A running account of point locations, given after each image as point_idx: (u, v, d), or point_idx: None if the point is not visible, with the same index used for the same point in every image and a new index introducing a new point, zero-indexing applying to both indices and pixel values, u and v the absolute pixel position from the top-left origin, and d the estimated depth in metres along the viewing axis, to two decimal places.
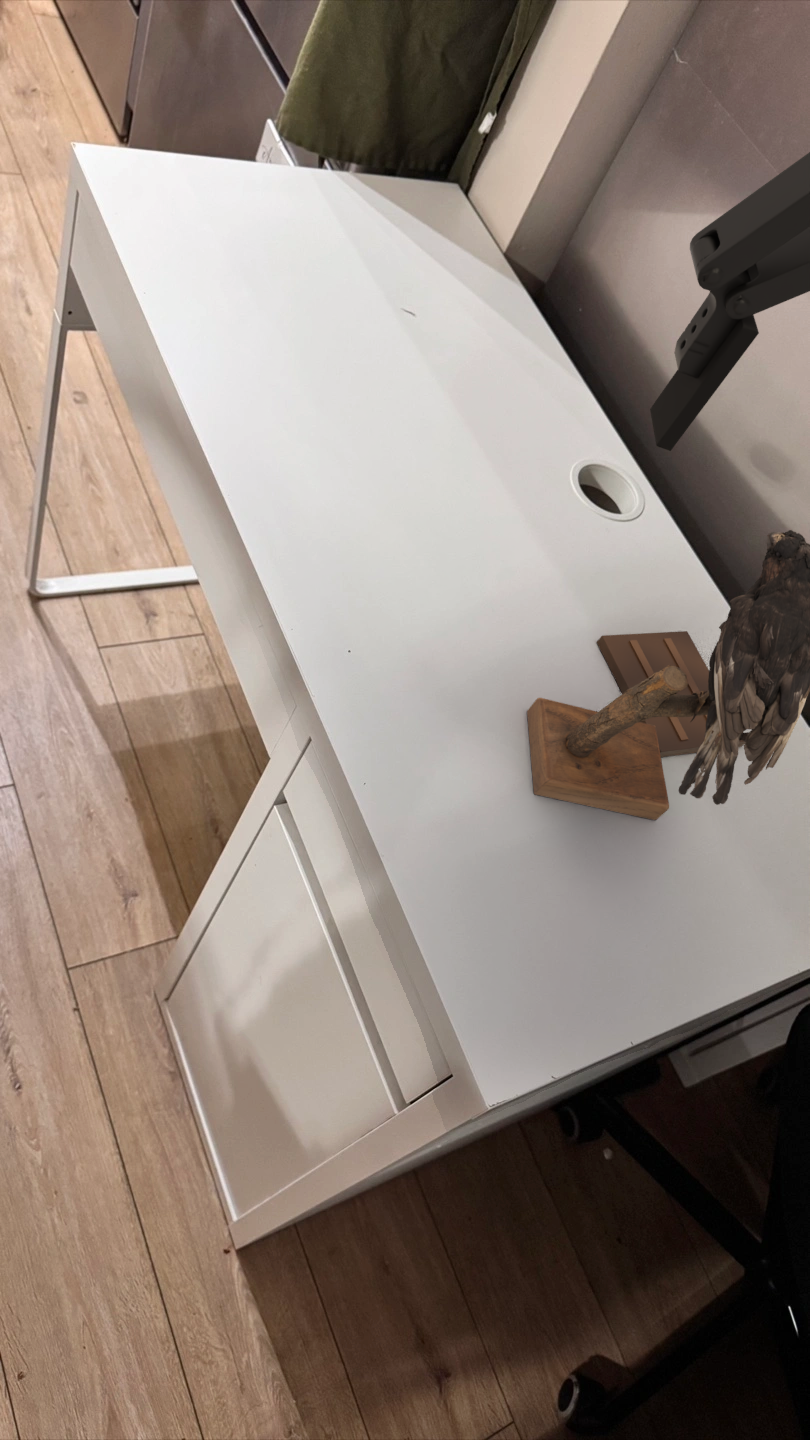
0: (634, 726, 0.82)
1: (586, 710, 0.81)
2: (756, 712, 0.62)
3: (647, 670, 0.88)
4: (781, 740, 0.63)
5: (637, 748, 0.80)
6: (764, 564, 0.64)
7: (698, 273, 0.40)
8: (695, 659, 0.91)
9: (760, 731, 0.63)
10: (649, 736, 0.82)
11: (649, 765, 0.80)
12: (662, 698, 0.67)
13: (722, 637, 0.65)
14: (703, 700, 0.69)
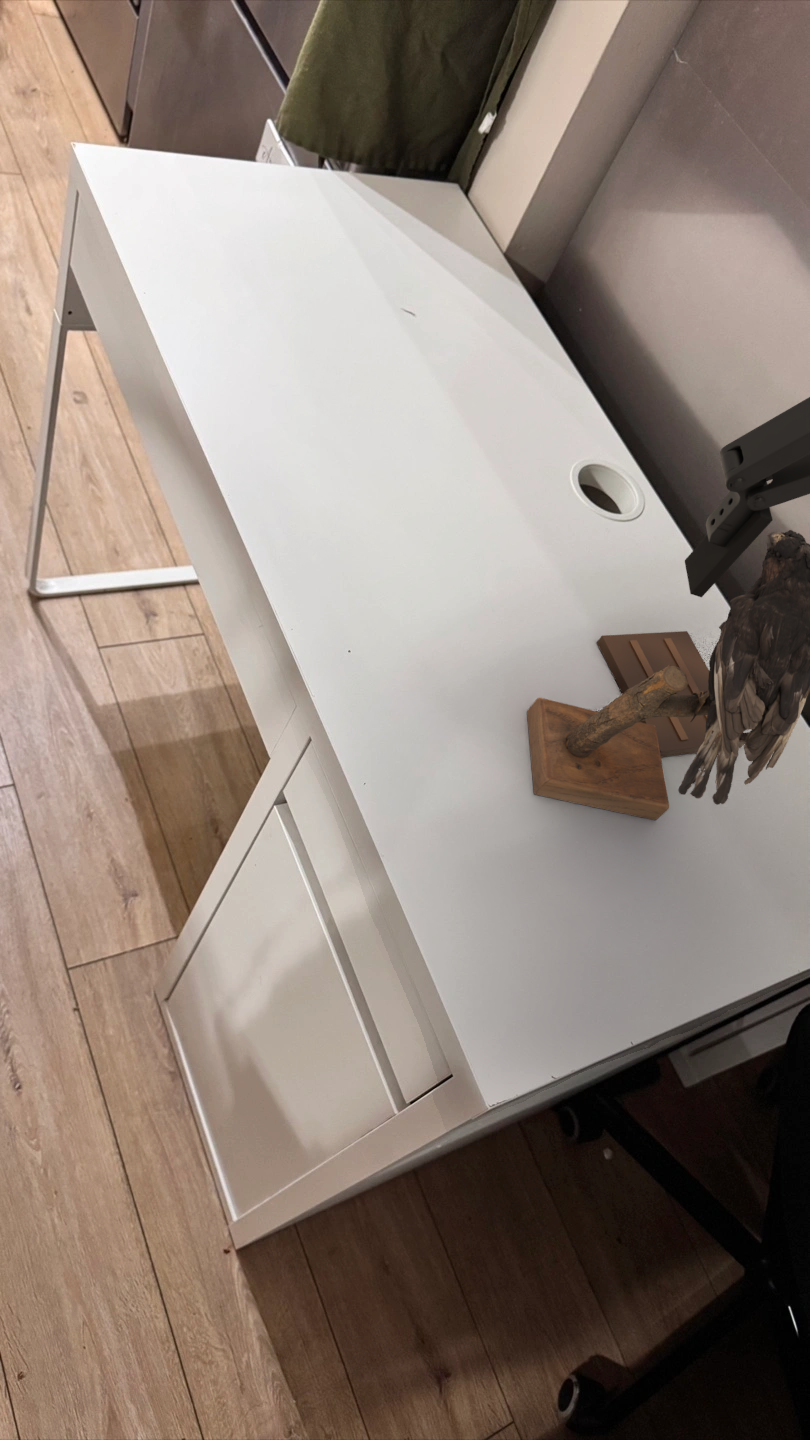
0: (634, 726, 0.82)
1: (586, 710, 0.81)
2: (757, 712, 0.62)
3: (647, 670, 0.88)
4: (781, 740, 0.63)
5: (637, 748, 0.80)
6: (764, 564, 0.64)
7: (726, 480, 0.52)
8: (695, 659, 0.91)
9: (760, 731, 0.63)
10: (649, 736, 0.82)
11: (649, 765, 0.80)
12: (662, 698, 0.67)
13: (722, 637, 0.65)
14: (703, 700, 0.69)
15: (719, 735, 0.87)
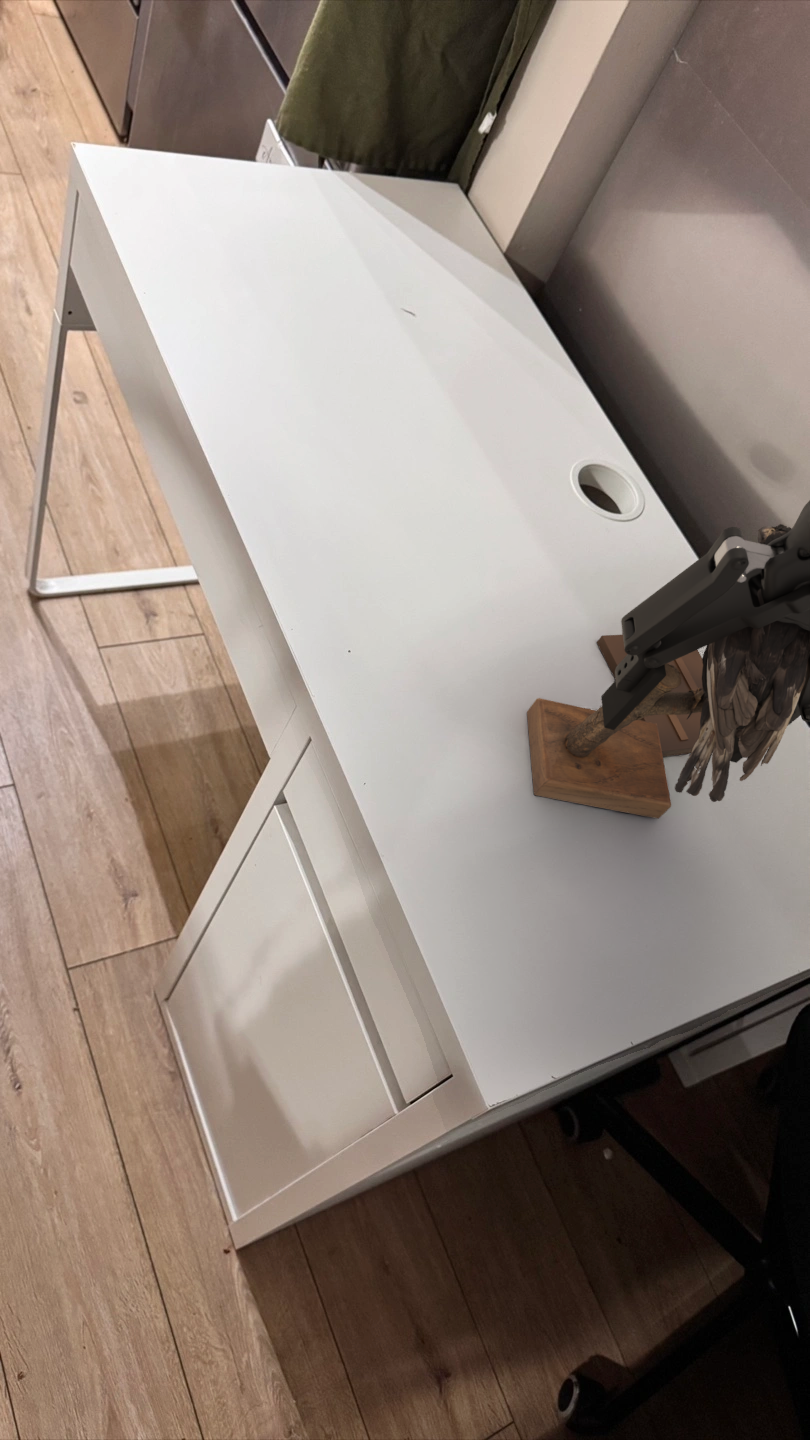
0: (635, 725, 0.81)
1: (586, 709, 0.81)
2: (749, 708, 0.61)
3: None
4: (775, 736, 0.63)
5: (638, 747, 0.80)
6: None
7: (624, 648, 0.63)
8: (695, 659, 0.91)
9: (754, 727, 0.63)
10: (650, 734, 0.81)
11: (650, 763, 0.80)
12: (656, 696, 0.67)
13: None
14: (699, 697, 0.69)
15: None
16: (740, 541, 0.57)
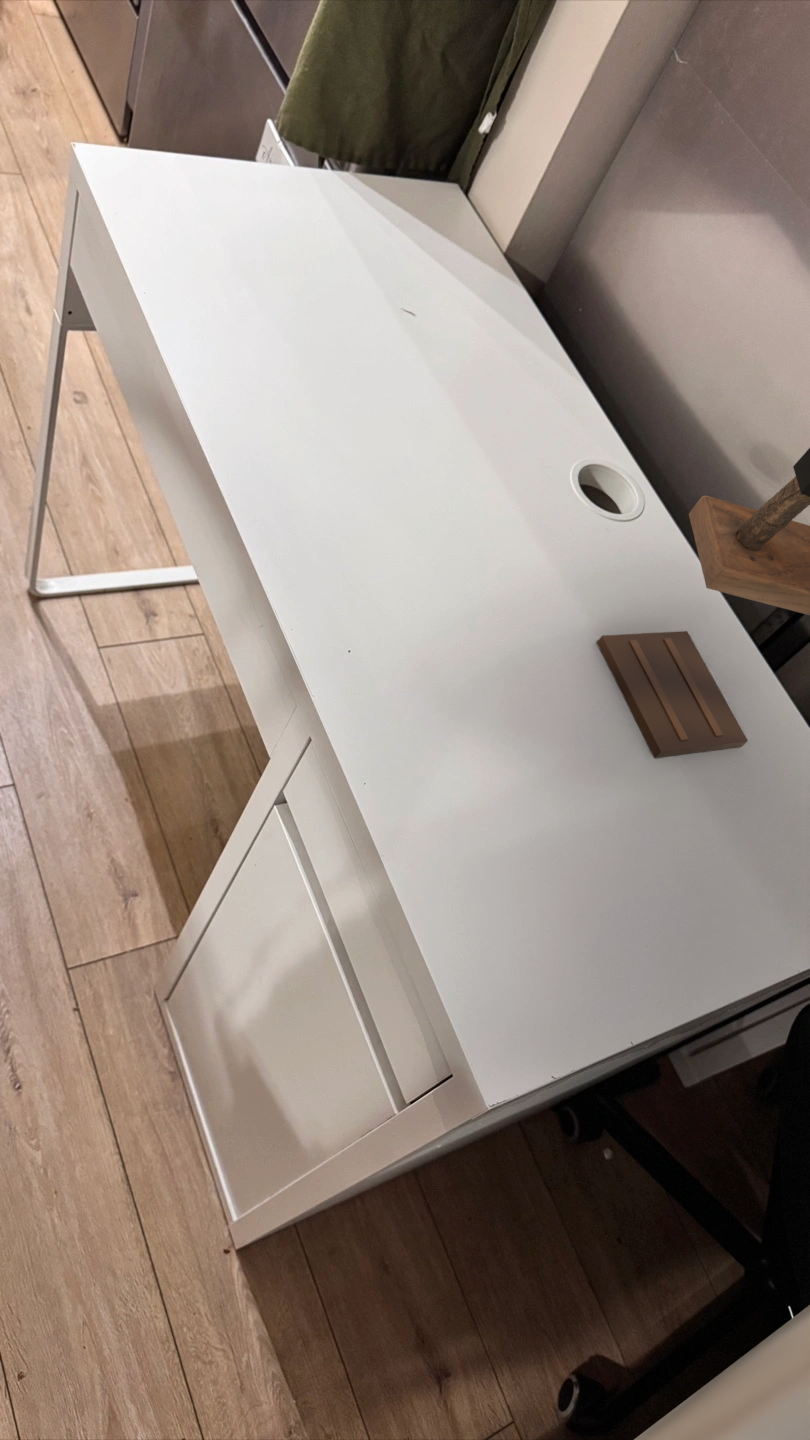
0: (801, 527, 0.78)
1: (752, 509, 0.78)
2: None
3: (647, 670, 0.88)
4: None
5: (807, 547, 0.77)
6: None
7: None
8: (695, 659, 0.91)
9: None
10: None
11: None
12: None
13: None
14: None
15: (719, 735, 0.87)
16: None
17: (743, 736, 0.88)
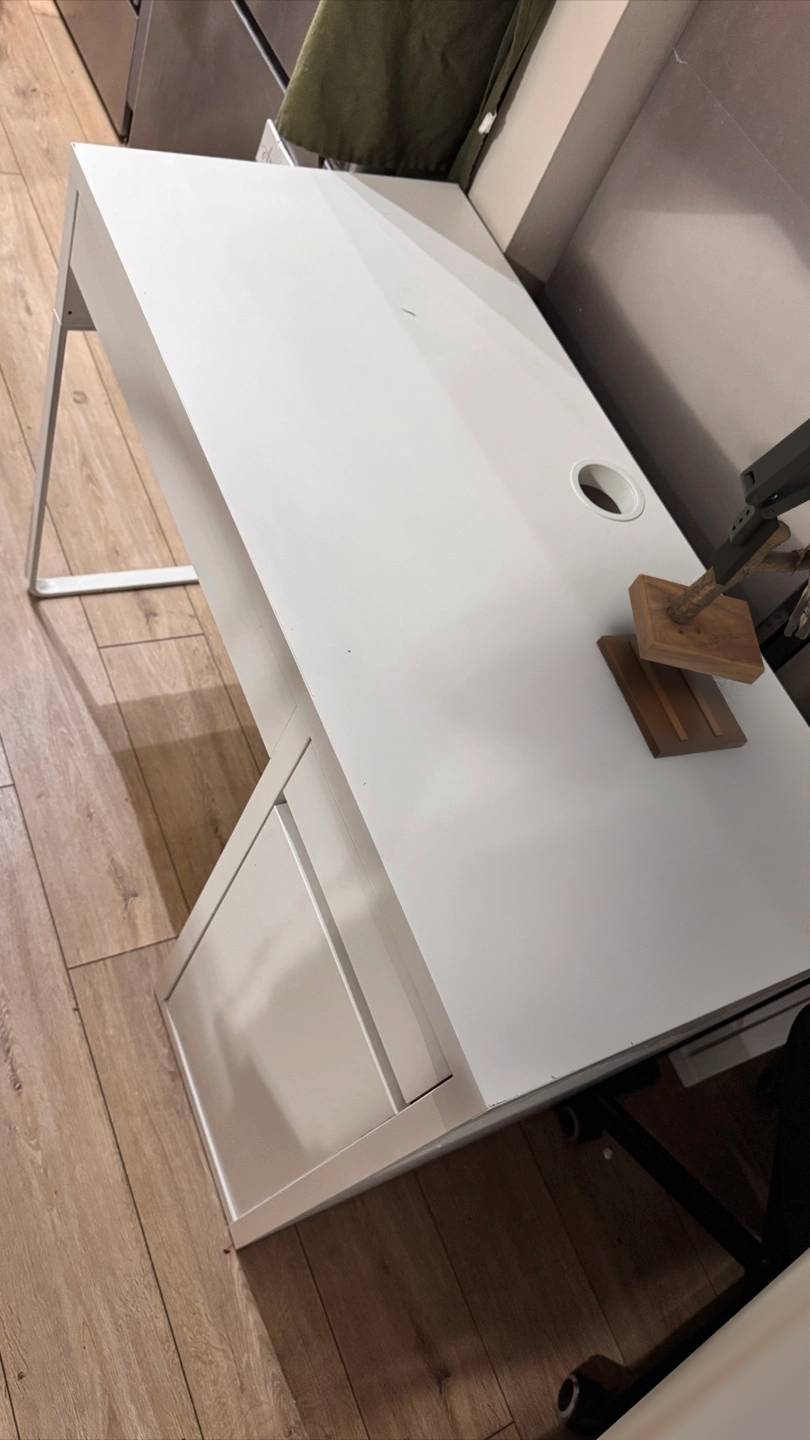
0: (728, 601, 0.88)
1: (684, 585, 0.87)
2: None
3: (647, 670, 0.88)
4: None
5: (732, 619, 0.87)
6: None
7: (745, 498, 0.69)
8: None
9: None
10: (742, 610, 0.88)
11: (744, 633, 0.86)
12: (767, 550, 0.74)
13: None
14: (802, 554, 0.75)
15: (719, 735, 0.87)
16: None
17: (743, 736, 0.88)
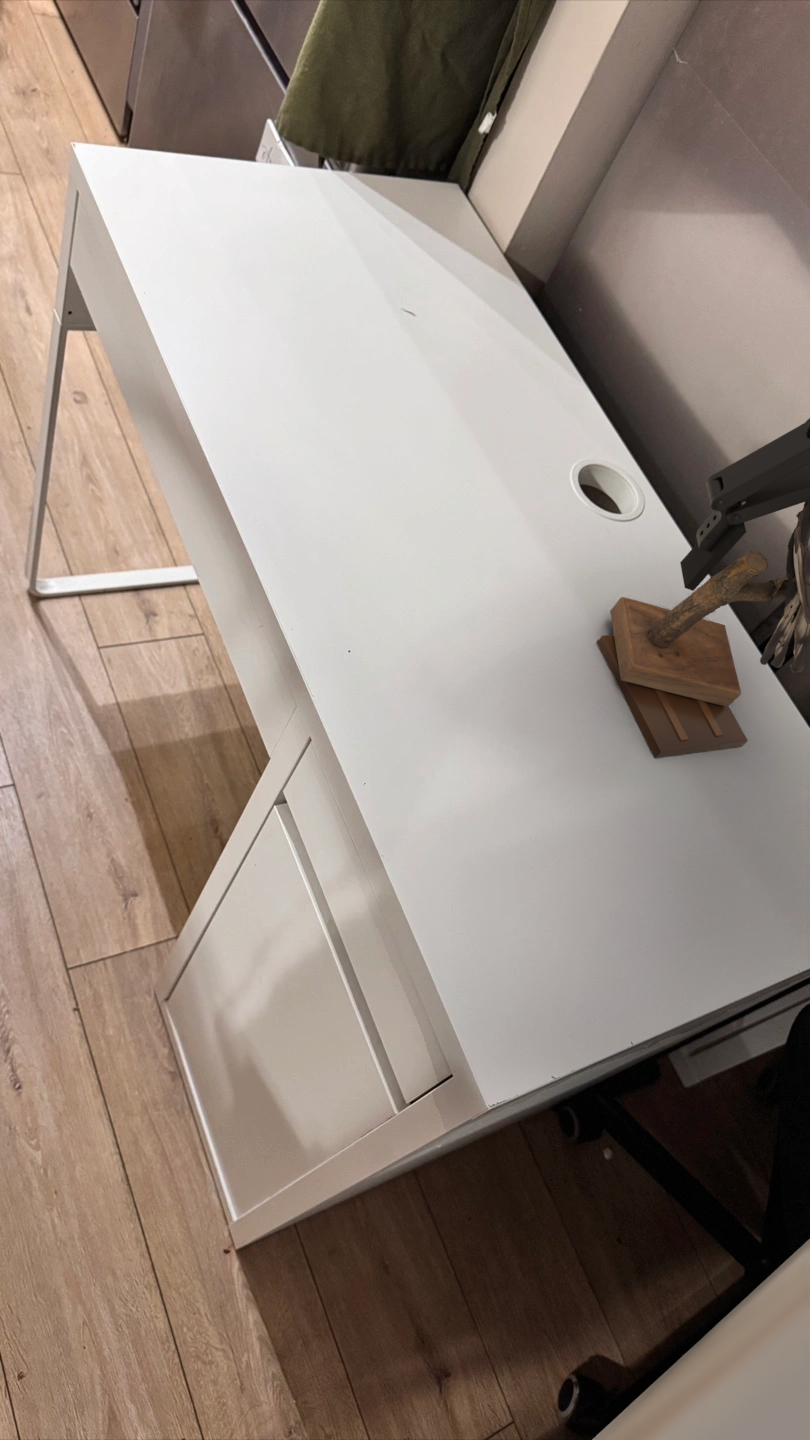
0: (706, 624, 0.91)
1: (664, 609, 0.90)
2: None
3: None
4: None
5: (710, 643, 0.89)
6: None
7: (711, 502, 0.70)
8: None
9: None
10: (720, 633, 0.91)
11: (721, 657, 0.89)
12: (744, 580, 0.76)
13: (800, 523, 0.74)
14: (779, 585, 0.78)
15: (719, 735, 0.87)
16: None
17: (743, 736, 0.88)
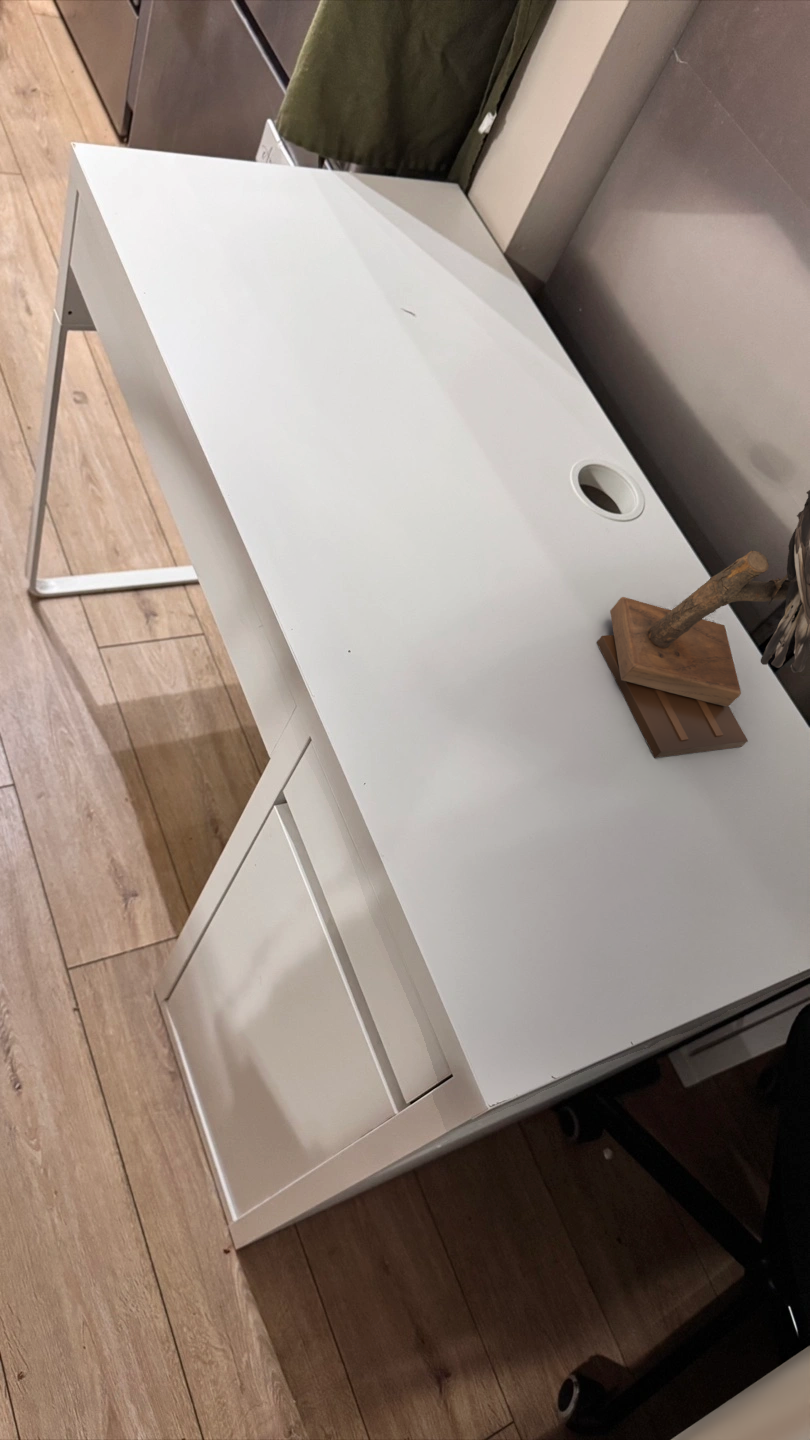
0: (706, 624, 0.91)
1: (664, 609, 0.90)
2: None
3: None
4: None
5: (710, 643, 0.89)
6: None
7: None
8: None
9: None
10: (719, 633, 0.91)
11: (721, 657, 0.89)
12: (745, 580, 0.76)
13: (801, 523, 0.74)
14: (779, 585, 0.78)
15: (719, 735, 0.87)
16: None
17: (743, 736, 0.88)
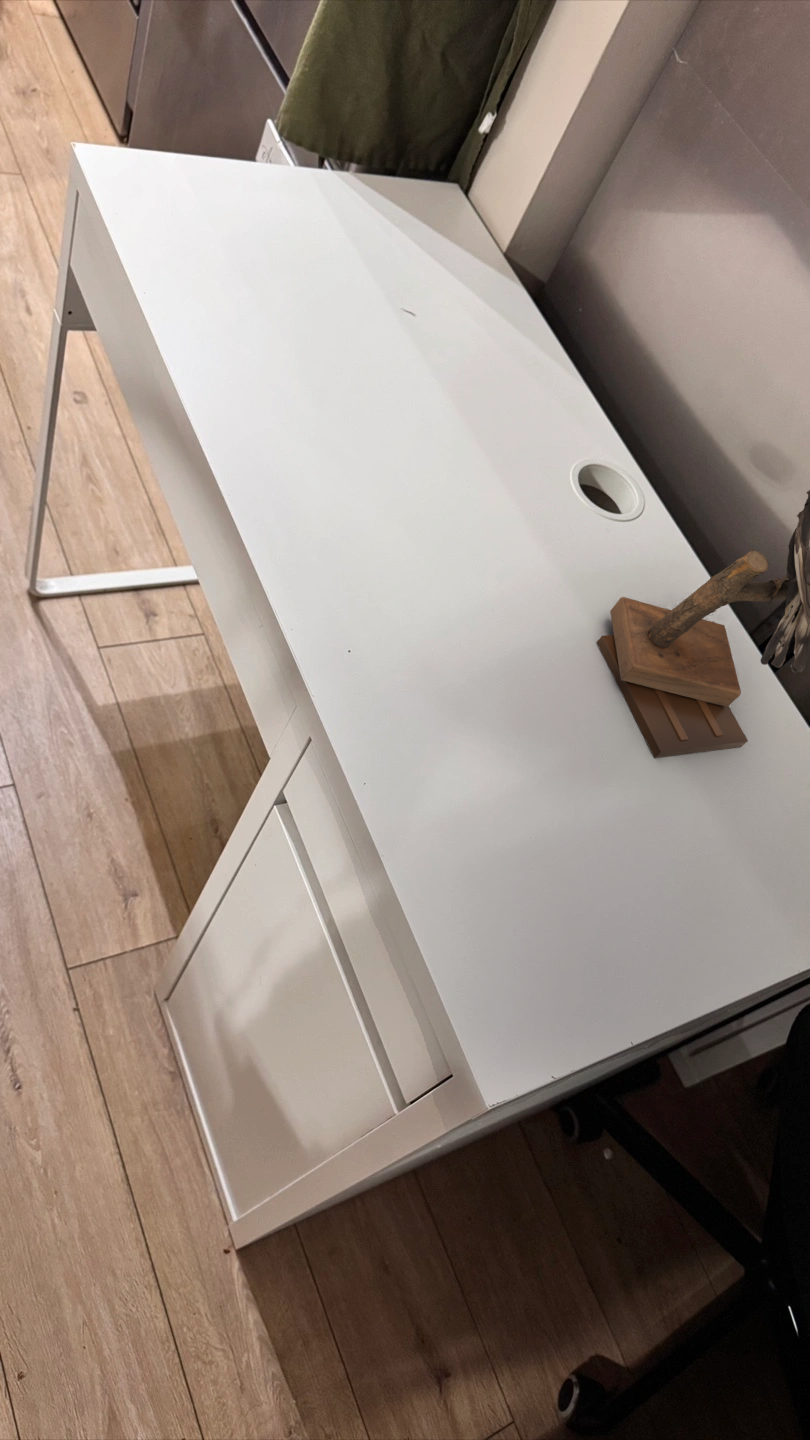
0: (706, 624, 0.91)
1: (664, 609, 0.90)
2: None
3: None
4: None
5: (710, 643, 0.89)
6: None
7: None
8: None
9: None
10: (719, 633, 0.91)
11: (721, 657, 0.89)
12: (745, 580, 0.76)
13: (801, 523, 0.74)
14: (779, 585, 0.78)
15: (719, 735, 0.87)
16: None
17: (743, 736, 0.88)
